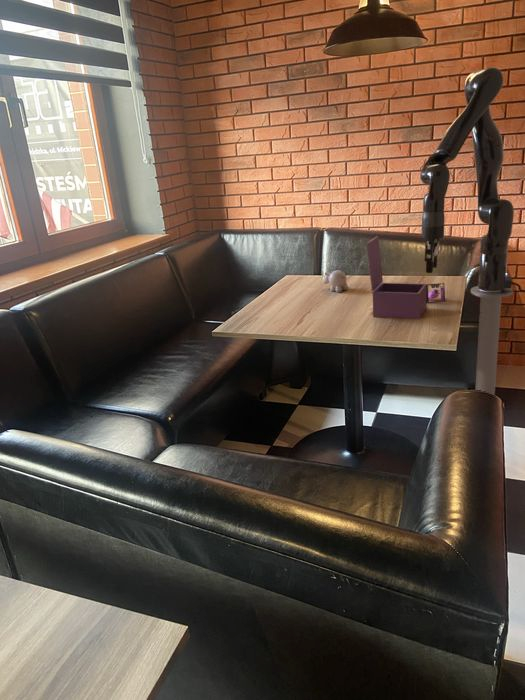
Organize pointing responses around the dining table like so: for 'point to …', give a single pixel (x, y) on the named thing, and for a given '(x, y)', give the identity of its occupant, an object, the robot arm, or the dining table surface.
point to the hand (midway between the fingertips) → (431, 270)
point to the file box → (399, 300)
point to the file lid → (374, 262)
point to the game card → (436, 292)
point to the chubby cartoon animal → (336, 280)
